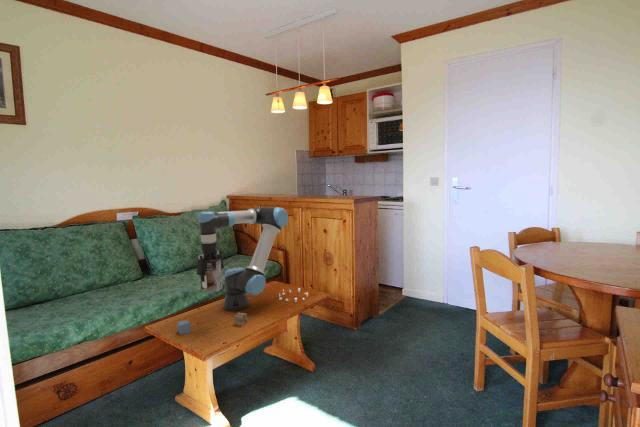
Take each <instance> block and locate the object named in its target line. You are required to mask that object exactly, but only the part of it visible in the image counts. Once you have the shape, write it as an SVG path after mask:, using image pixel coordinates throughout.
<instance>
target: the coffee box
mask: <svg viewBox="0 0 640 427" xmlns="http://www.w3.org/2000/svg"><path fill="white" fill-rule="evenodd" d="M206 261H207V260H206ZM204 263H205V261H203V264H204ZM205 275H206V278H207V288H203V287H202V282H201V281H200V285H201V286H200V290H201V292H214V293H215V292H216V293H217V292H219V291H220V290H222V289H223V278H222V277H223V276H222V271H221V259H212V260H209V261H208V262H207V269H206V272H205Z"/></svg>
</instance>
